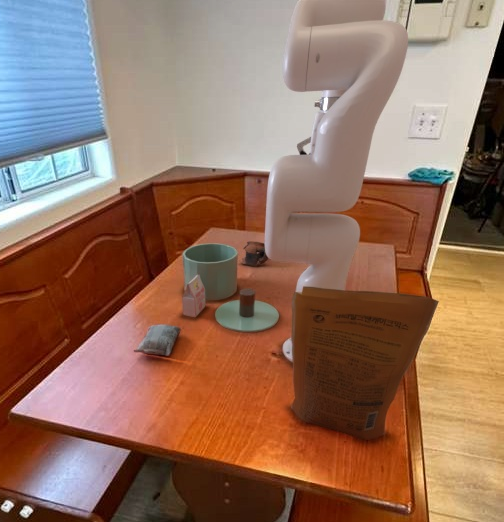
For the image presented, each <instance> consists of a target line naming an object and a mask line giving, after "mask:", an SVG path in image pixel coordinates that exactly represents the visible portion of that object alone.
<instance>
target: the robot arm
mask: <svg viewBox="0 0 504 522" xmlns="http://www.w3.org/2000/svg"><path fill="white" fill-rule="evenodd" d="M385 13H386V0H298V1H297V2H296V4H295V5H294V9H293V12H292V15H291V18H290V22H289V27H288V31H287V36H286V41H285V46H284V51H283V57H282V79H283V81H284V84H285V86H286V87H287V88H288V89H289V90H290V91H293V92H298V93H306V92H318V91H319V92H321V96H320V97H321V98H320V99H318V100H314V105H313V106H314V107H315V108H319V111H317V112H316V113H315V116H314V121H313V125H312V129H311V136H309V137H307V138H305V139H303V140H302V141H300V142H298V143H297V144H296V148H297V151H298V153H299V154H289V155H284V156H281V157H279V158H278V159H276V160H275V161H274V163H273V164H272V166H271V169H270V171H269V175H268V181H267V189H266V205H265V206H266V208H265V222H264V223H265V224H264V225H265V226H264V244H265V252H266V255H267V257H268V259H269V260H271V261H273V262H277V263H288V264H306V265H309V266H307V267H306V269H304V270H303V272H302V273H301V274H300V276H299V277H298V280H297V282H296V287H295V291H296V292H301V293H302V290H303V286H306V287H317V288H325V289H336V290H345V291H346V285H347V281H348V278H349V277H348V276H349V272H350V269H351V266H352V262H353V259H354V258H355V254H356V252H357V248H358V246H359V243H360V239H361V227H360V225H359V223H358V221H357V220H356V219H355V218H353V217H351V216H349V215H346V214H342V212H345V211H349V210H350V209H352V208H353V207H354V206H355V205H356V204H357V202H358V200H359V197H360V194H361V191H362V188H363V184H364V183H363V182H364V178H365V173H366V169H367V165H368V160H369V155H370V150H371V146H372V139H373V136H374V132H375V128H376V126H377V123H378V122H379V119H380V117H381V115H382V112H383V110H384V109H385V107H386V106H387V103H388V102H389V100H390V98H391V96H392V94H393V93H394V90H395V88H396V86H397V84H398V81H399V79H400V77H401V74H402V71H403V67H404V64H405V60H406V58H407V57H406V56H407V53H408V46H409V34H408V30H407V29H406V27H405V26H404V25H403V24H401V23H400V22H396V21H392V20H384V17H385ZM308 144H310V145H309V153H308V154H307V152H306V151H305V149H304V147H305V146H307V145H308ZM340 212H341V214H340ZM282 354H283V355H284V357H285V358H286V359H287V360H288V361H290V362H291V363H293V359H292V341H291V337H289V338H288V339H286V340H285V341H284V342H283V344H282Z"/></svg>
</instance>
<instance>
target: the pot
mask: <svg viewBox="0 0 504 522" xmlns="http://www.w3.org/2000/svg"><path fill="white" fill-rule="evenodd" d="M238 255H239V251H238V249H236V247H234V246H231V245H229V244H224V243H217V242H211V243H199V244H195V245H192V246H189V247H188V248H186V249H185V250H184V251H183V253H182V269H183V286H184V288H183V289H184V291H185V290H186V287H187V284H188V283H189V282H190V281H191V280H192V279H193V278H195V277H196V276H197V275H200V279H201V281H202V284H203V286H204V288H205V301H219V300H224V299H228V298H230V297H231V296H234V294H235V293H236V292H237V290H238V264H239V263H238V259H239V258H238V257H239V256H238Z"/></svg>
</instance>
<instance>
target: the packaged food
mask: <svg viewBox="0 0 504 522" xmlns="http://www.w3.org/2000/svg"><path fill="white" fill-rule="evenodd" d="M181 330H182V329H181V327H179V326H176V325H171V324H153V325H150V326H148V327H147V331H146V334H144V337H143V338H142V340H141V342H140V343H139V344H138V345H137V346H136V348H135V349H133V352H134V353H141V354H148V355H157V356H160V355H161V356H165V357H170V356H171V354H172V352H173V349H174V345H175V344H176V341H177V340H178V338H179V336H180V334H181Z"/></svg>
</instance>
